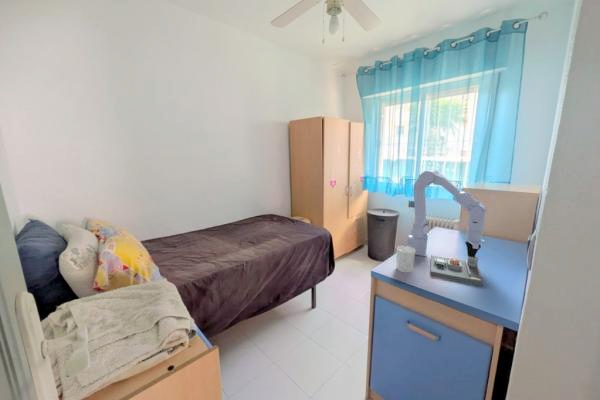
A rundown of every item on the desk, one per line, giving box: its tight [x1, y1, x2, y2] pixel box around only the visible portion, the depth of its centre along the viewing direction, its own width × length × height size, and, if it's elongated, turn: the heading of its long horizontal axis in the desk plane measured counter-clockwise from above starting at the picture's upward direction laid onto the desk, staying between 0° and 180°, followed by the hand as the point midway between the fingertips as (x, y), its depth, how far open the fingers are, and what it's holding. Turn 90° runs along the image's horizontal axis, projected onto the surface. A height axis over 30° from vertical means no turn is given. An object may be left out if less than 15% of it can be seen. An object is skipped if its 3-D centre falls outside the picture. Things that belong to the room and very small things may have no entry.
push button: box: [450, 258, 459, 265], centre depth 110 cm, size 3×3×3 cm
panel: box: [429, 255, 484, 287], centre depth 110 cm, size 19×18×4 cm
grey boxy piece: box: [466, 255, 479, 268], centre depth 109 cm, size 4×2×5 cm, turn 62°
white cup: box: [395, 245, 416, 274], centre depth 112 cm, size 8×8×10 cm
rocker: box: [436, 258, 445, 265], centre depth 112 cm, size 3×6×1 cm, turn 152°
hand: (470, 257), depth 114 cm, fingers closed
